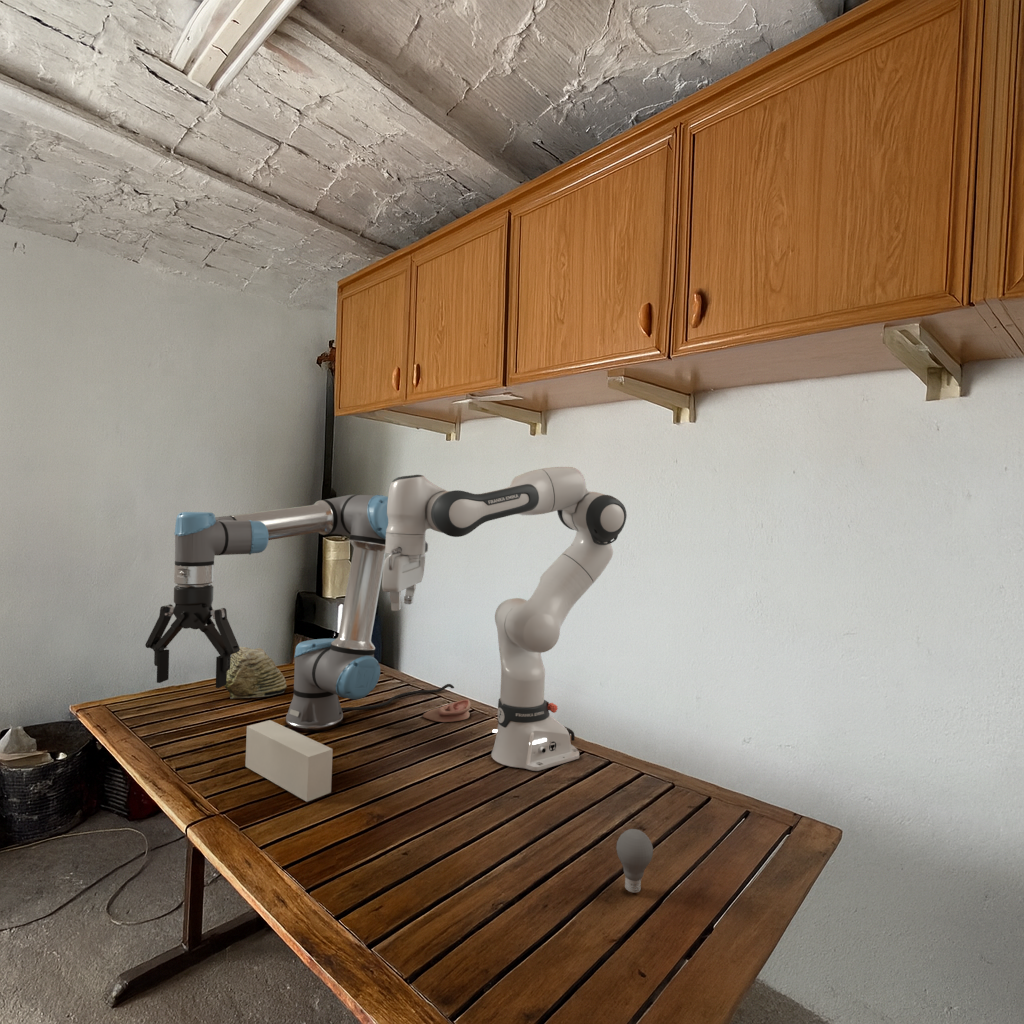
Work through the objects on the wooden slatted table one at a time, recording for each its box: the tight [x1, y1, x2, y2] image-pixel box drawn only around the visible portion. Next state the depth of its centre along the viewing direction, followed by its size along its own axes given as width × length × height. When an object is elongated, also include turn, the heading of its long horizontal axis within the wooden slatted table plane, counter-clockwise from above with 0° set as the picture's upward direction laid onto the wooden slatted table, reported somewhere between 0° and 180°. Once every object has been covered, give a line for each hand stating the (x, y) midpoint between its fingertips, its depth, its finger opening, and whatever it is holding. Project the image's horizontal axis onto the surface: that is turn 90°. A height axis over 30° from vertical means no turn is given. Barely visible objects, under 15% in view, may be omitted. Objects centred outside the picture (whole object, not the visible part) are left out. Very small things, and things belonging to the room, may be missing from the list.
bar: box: [244, 719, 334, 803], centre depth 141 cm, size 25×6×9 cm, turn 51°
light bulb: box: [615, 828, 654, 894], centre depth 106 cm, size 6×6×10 cm
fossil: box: [223, 646, 288, 699], centre depth 198 cm, size 9×18×15 cm, turn 132°
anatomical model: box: [422, 699, 472, 723], centre depth 186 cm, size 13×4×12 cm
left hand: (191, 683), depth 135 cm, fingers open, 13 cm apart
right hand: (402, 607), depth 143 cm, fingers open, 8 cm apart
